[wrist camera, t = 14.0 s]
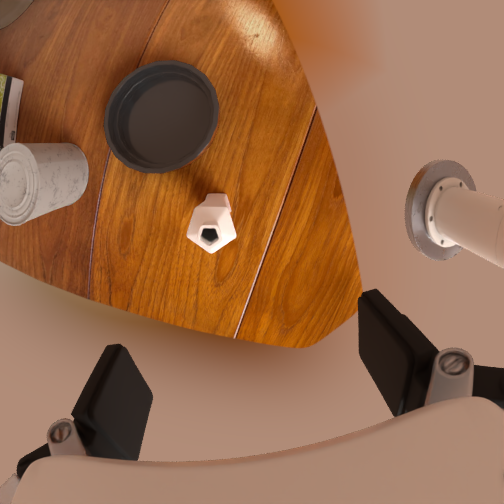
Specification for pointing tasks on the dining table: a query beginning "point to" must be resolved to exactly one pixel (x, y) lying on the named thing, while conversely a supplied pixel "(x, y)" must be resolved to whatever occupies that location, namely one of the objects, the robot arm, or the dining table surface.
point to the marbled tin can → (39, 179)
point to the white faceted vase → (212, 223)
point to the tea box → (9, 108)
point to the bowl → (162, 117)
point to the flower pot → (12, 10)
